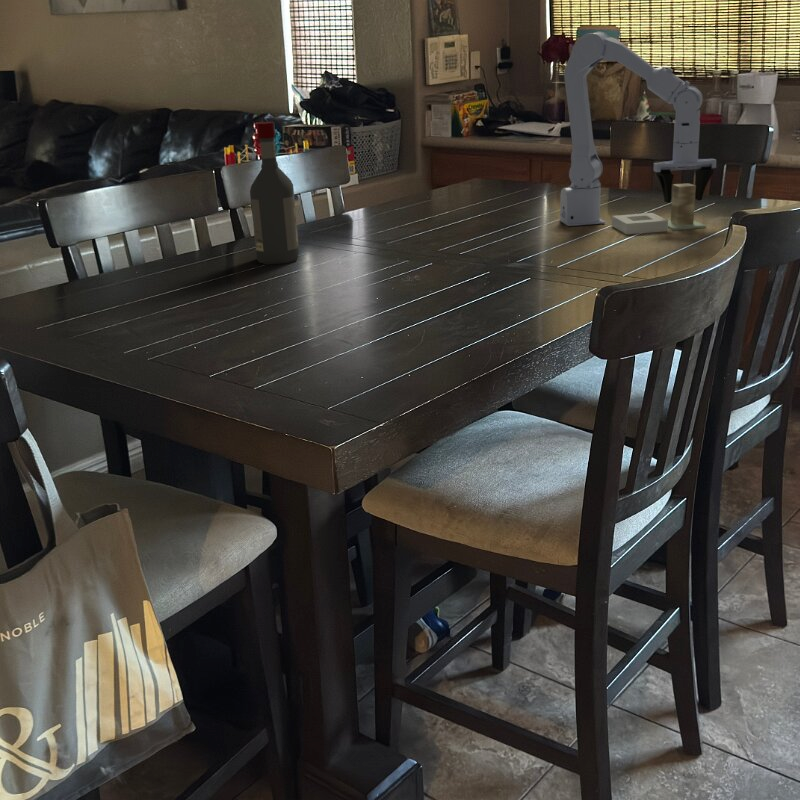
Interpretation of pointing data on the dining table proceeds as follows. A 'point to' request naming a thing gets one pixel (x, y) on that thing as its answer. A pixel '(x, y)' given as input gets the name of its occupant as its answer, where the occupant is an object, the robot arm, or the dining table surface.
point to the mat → (685, 226)
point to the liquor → (273, 206)
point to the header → (639, 223)
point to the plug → (683, 204)
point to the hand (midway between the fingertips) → (683, 200)
